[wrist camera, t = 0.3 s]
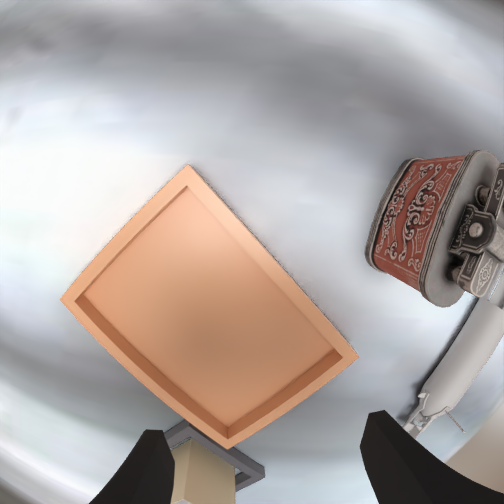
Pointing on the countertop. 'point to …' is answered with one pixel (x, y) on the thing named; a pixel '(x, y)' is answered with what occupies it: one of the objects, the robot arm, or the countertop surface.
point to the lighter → (441, 226)
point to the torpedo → (462, 359)
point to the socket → (218, 453)
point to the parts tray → (206, 314)
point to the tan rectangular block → (201, 476)
